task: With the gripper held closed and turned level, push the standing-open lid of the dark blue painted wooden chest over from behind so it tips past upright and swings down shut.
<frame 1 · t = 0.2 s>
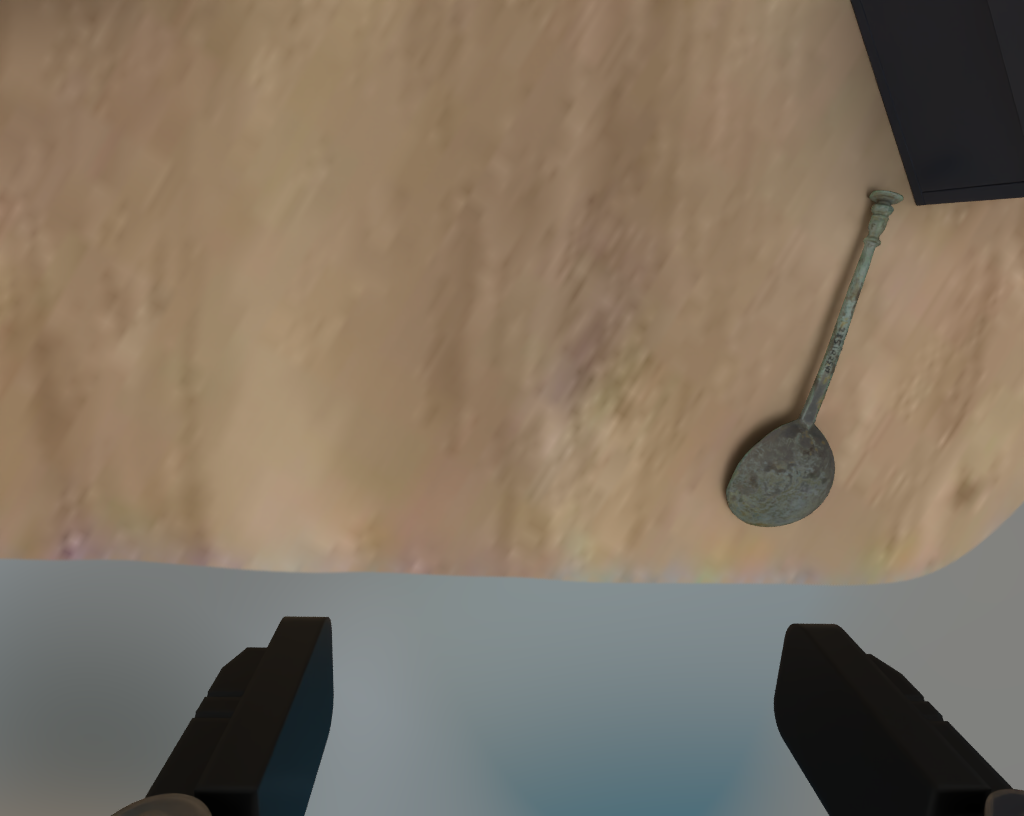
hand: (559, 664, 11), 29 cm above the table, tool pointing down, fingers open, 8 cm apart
chest: (1009, 27, 36), on the table
soupspoon: (811, 369, 41), on the table
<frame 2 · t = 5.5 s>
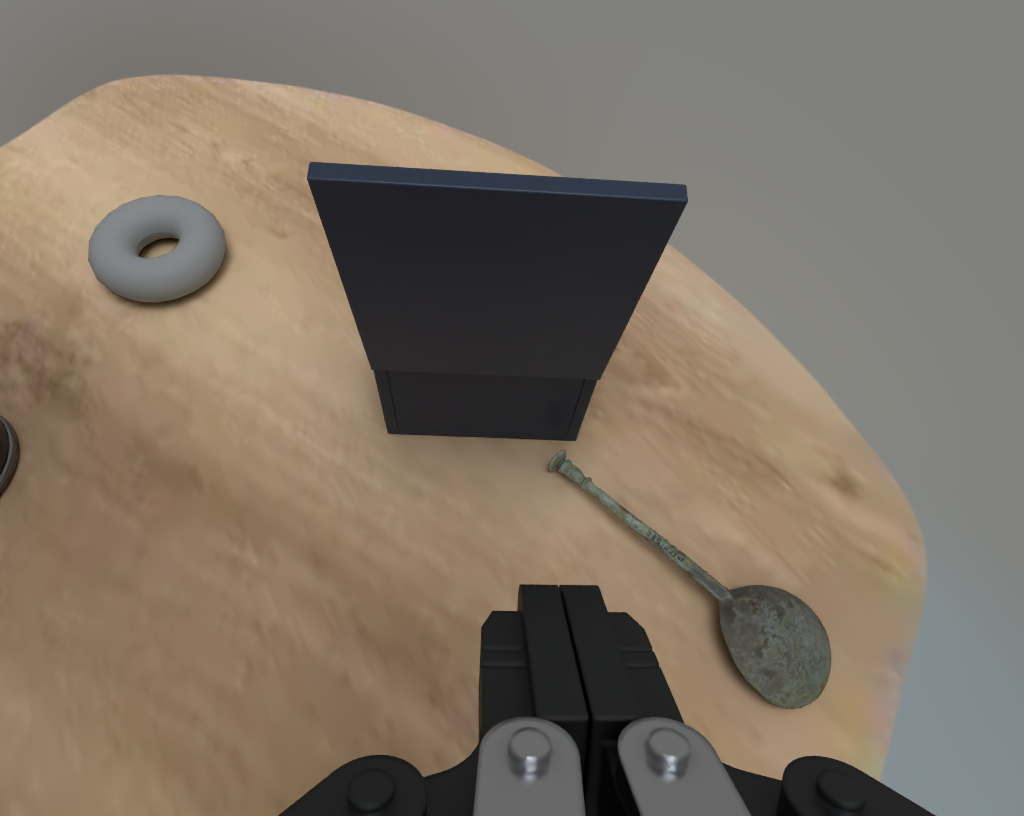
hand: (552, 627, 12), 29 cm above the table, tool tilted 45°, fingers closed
donut: (168, 263, 52), on the table
chest: (485, 347, 50), on the table
lid: (492, 298, 30), point 17 cm above the table, hinge at 98.0°
soupspoon: (677, 568, 43), on the table
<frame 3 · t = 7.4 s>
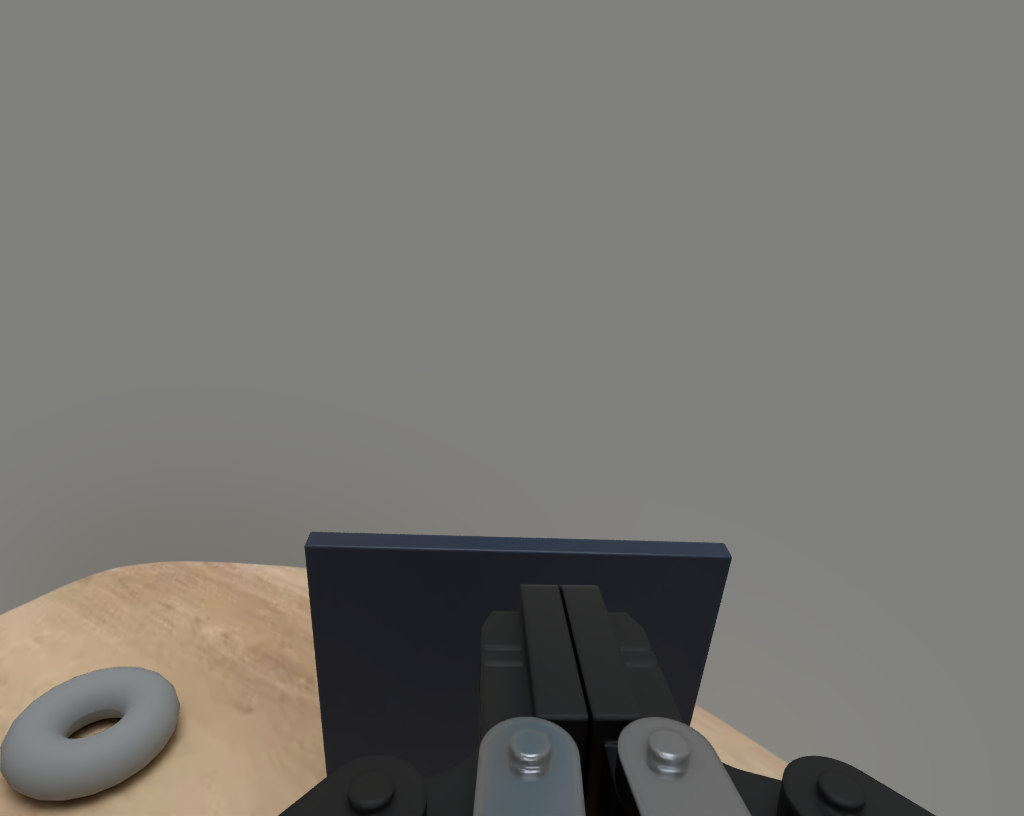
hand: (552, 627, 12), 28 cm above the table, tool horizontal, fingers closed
donut: (99, 750, 43), on the table
lid: (507, 722, 24), point 17 cm above the table, hinge at 98.0°
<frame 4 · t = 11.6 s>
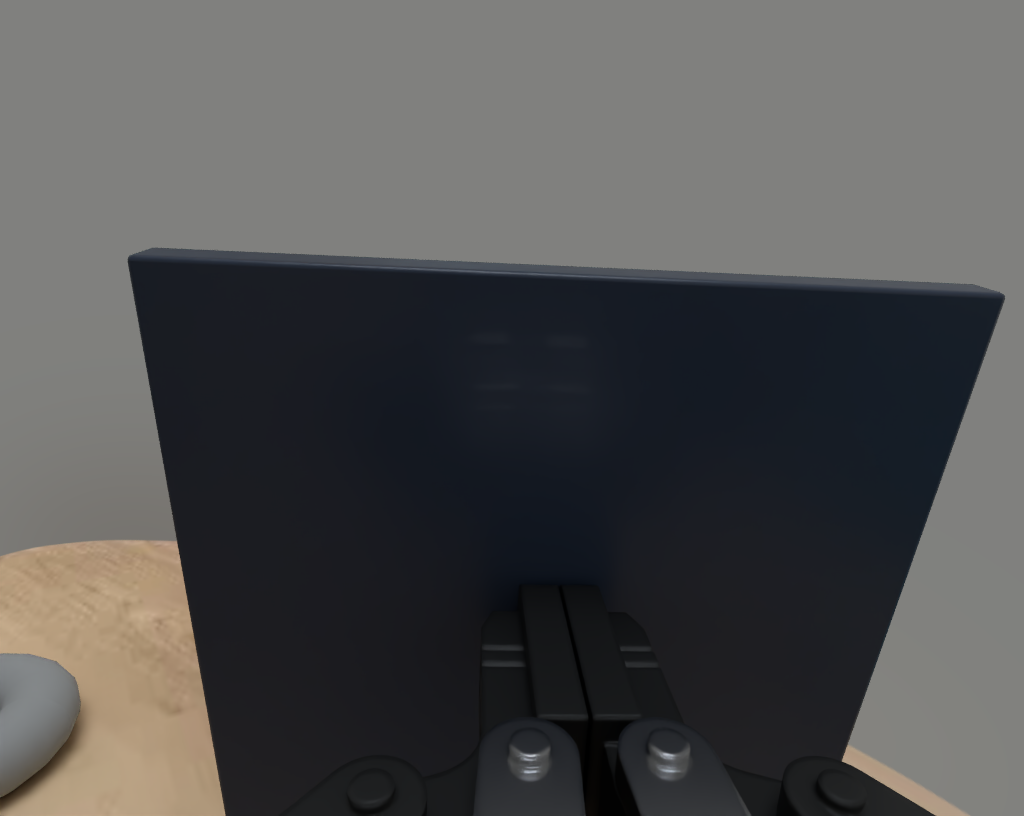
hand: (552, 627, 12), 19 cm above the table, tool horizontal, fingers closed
lid: (544, 667, 13), point 17 cm above the table, hinge at 97.9°, touching gripper
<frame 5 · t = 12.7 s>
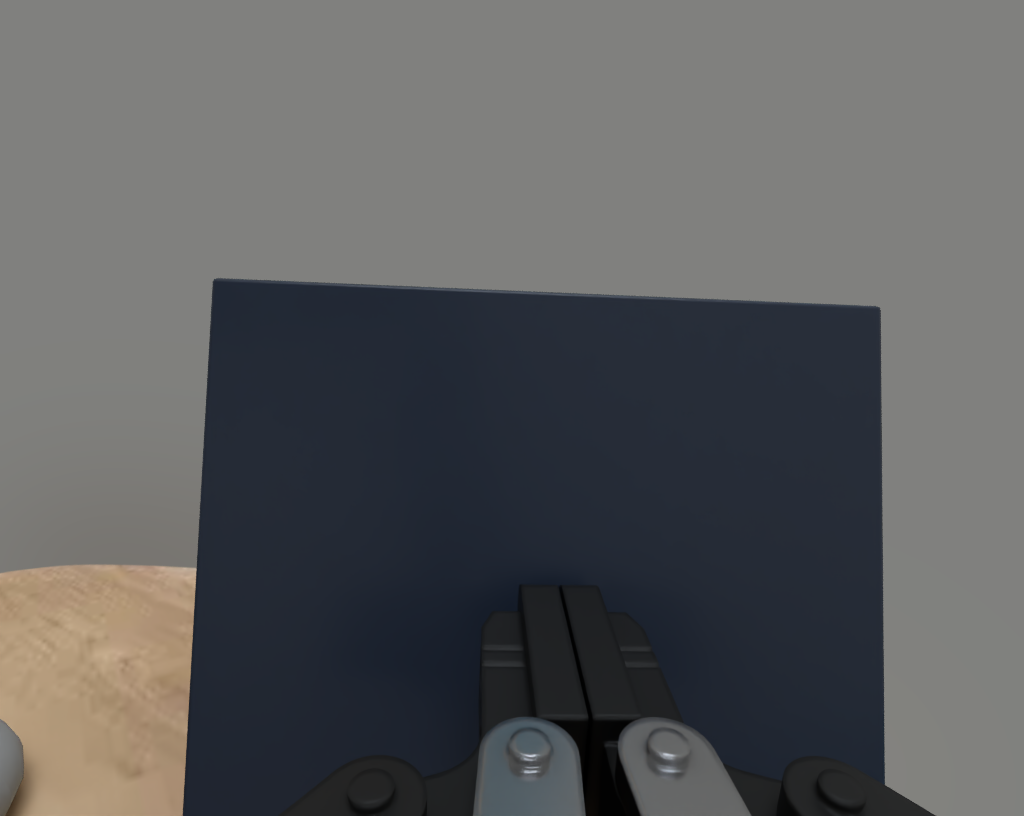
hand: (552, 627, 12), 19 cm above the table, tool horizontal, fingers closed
lid: (546, 701, 13), point 17 cm above the table, hinge at 71.7°
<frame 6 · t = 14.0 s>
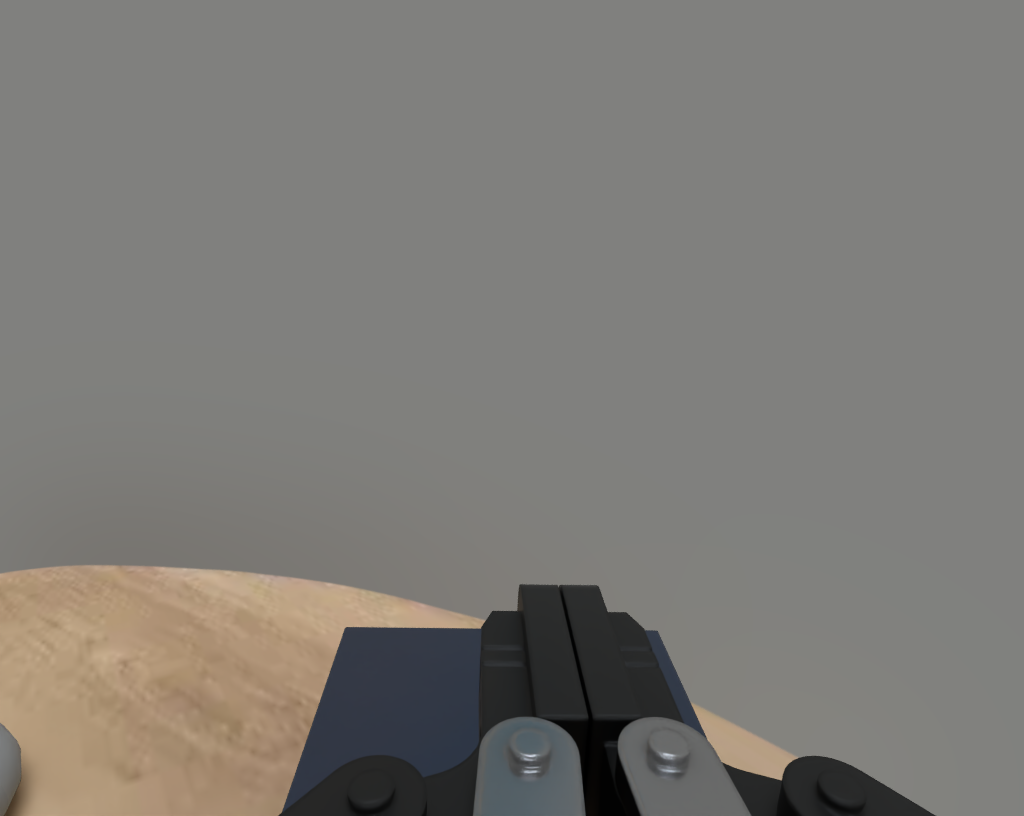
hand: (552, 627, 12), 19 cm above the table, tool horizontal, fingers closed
lid: (513, 793, 20), point 9 cm above the table, hinge at -0.1°
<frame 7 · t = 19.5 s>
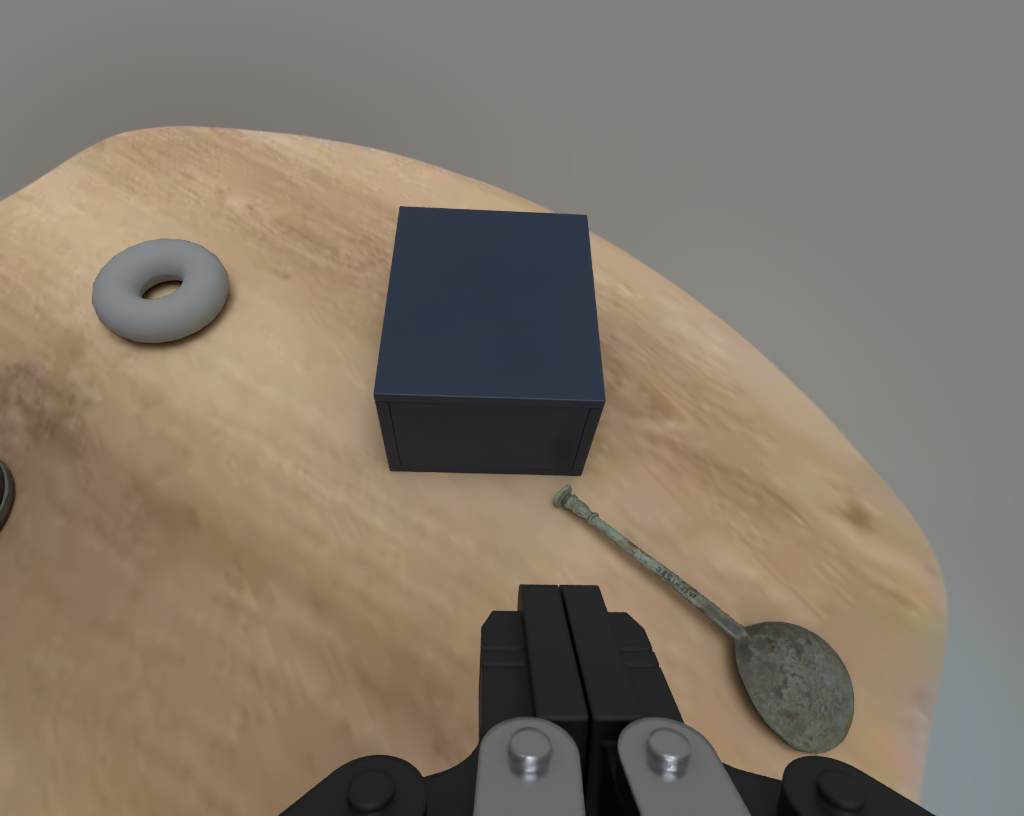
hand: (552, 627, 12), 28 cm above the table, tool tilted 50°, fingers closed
donut: (171, 305, 52), on the table
chest: (488, 383, 50), on the table
lid: (492, 298, 42), point 9 cm above the table, hinge at -0.1°
soupspoon: (689, 606, 41), on the table
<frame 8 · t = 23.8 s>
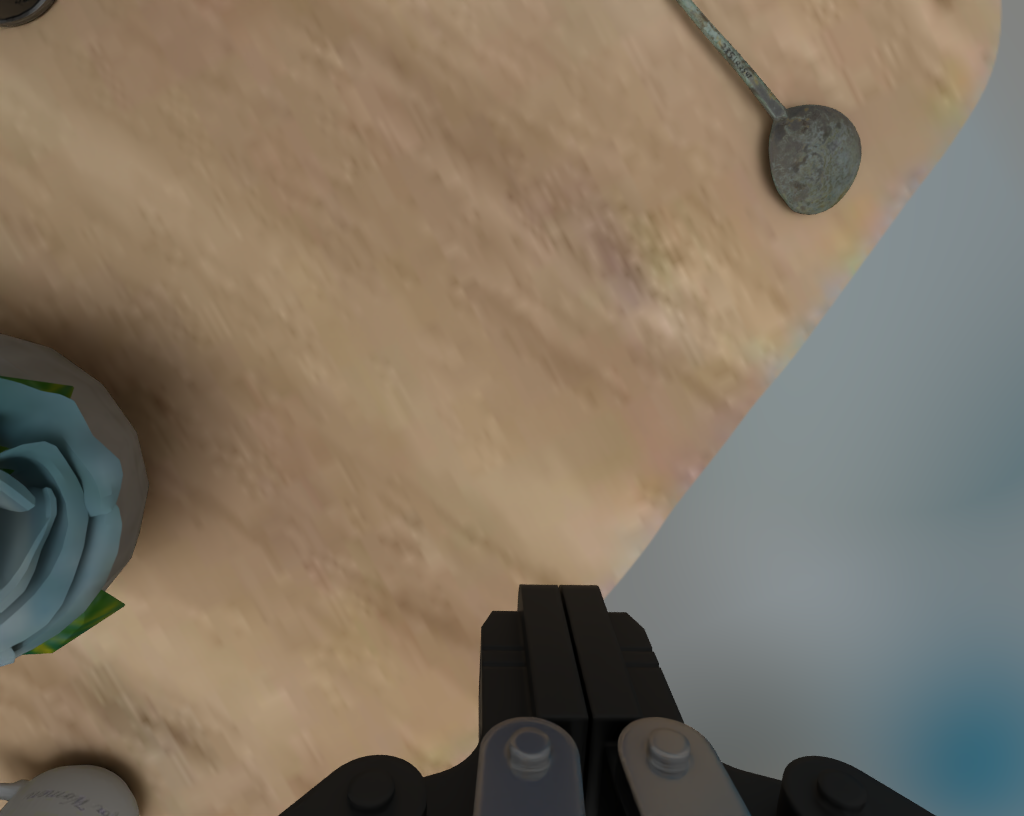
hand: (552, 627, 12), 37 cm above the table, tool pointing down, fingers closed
teacup: (79, 782, 56), on the table
flower arrangement: (53, 446, 49), on the table
soupspoon: (742, 84, 44), on the table
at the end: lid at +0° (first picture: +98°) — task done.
